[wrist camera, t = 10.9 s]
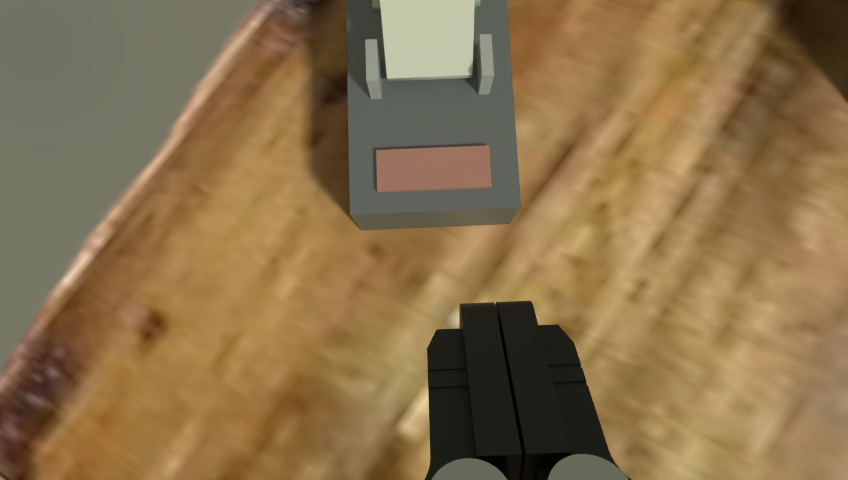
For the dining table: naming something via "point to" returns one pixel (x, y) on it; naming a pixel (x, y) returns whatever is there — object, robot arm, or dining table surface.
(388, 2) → the lever
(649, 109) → the dining table surface
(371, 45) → the switch box
